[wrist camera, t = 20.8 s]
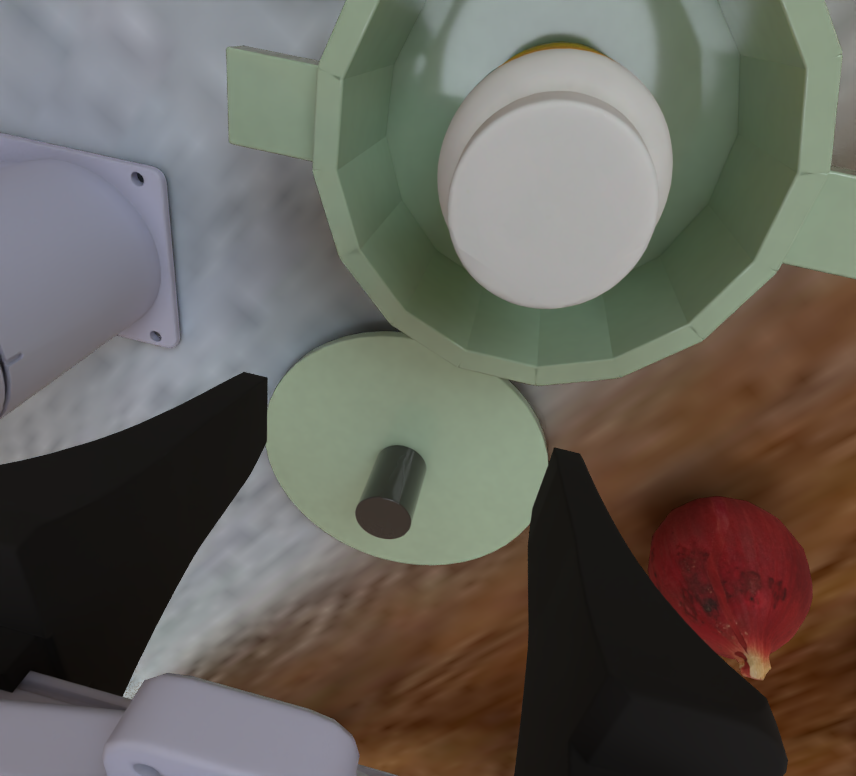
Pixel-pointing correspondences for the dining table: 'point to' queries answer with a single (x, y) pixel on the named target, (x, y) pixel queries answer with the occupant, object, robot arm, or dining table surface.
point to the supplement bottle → (554, 175)
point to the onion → (732, 578)
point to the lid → (405, 450)
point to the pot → (688, 196)
